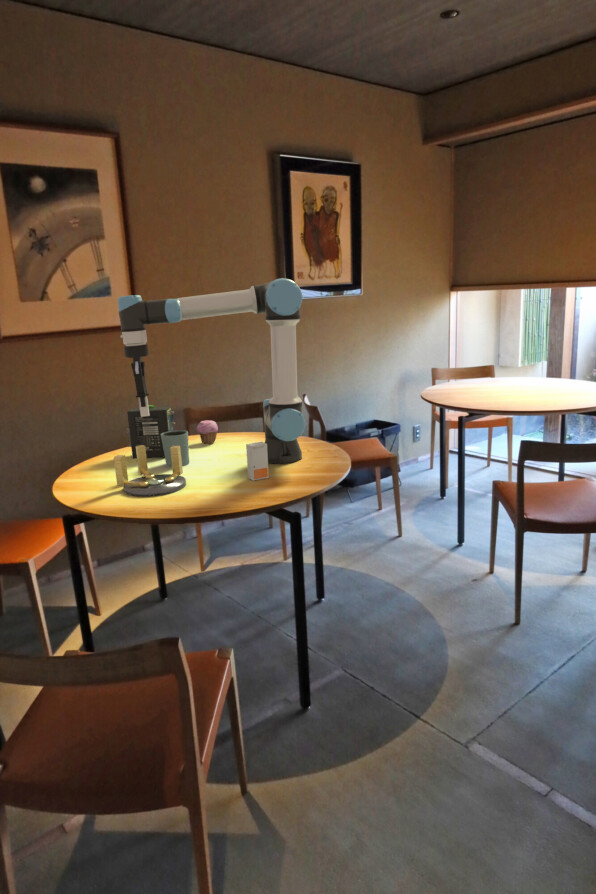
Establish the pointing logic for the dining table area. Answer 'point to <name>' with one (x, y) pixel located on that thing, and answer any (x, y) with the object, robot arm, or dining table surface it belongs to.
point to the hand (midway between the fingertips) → (145, 415)
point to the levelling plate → (156, 486)
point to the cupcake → (207, 431)
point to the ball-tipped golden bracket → (124, 473)
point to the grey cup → (175, 440)
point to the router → (149, 430)
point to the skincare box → (257, 461)
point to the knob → (143, 462)
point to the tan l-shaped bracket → (175, 463)
